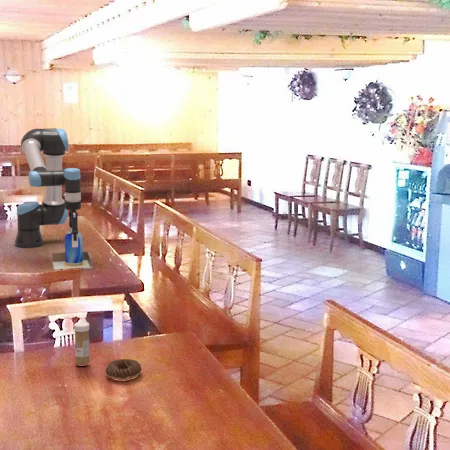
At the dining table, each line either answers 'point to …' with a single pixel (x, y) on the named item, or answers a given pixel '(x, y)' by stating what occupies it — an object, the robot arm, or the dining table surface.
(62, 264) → the tray
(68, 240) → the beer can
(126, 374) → the donut
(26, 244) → the robot arm
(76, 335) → the sprinkles bottle
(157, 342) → the dining table surface
